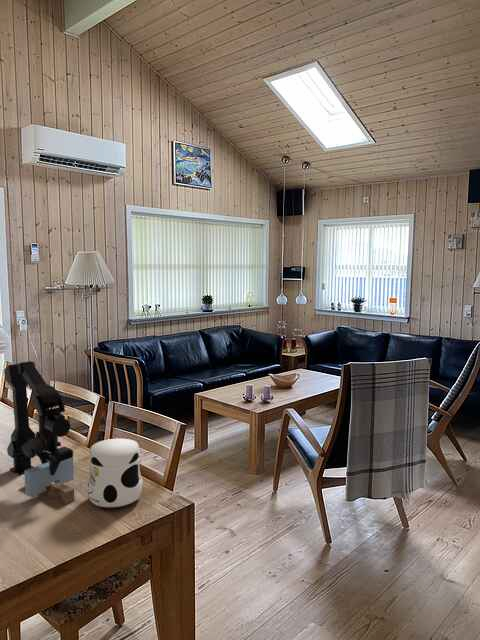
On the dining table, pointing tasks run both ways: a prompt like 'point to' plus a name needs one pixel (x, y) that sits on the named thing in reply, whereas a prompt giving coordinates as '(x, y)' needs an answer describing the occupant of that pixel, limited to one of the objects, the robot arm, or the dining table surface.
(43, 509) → the dining table surface
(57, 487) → the brown wooden bar
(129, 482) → the milk container
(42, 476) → the blue long flat plate
